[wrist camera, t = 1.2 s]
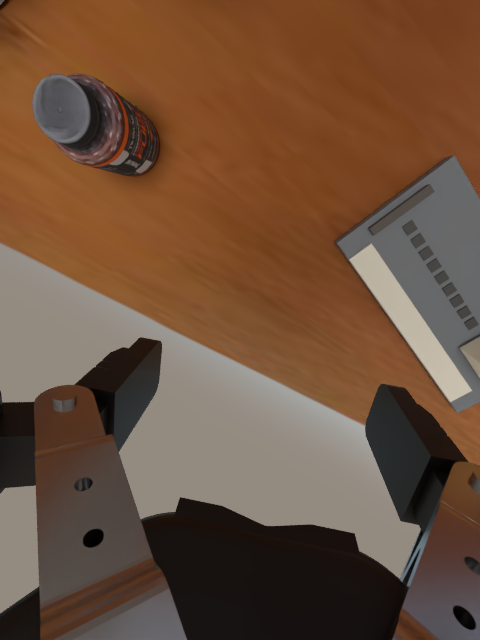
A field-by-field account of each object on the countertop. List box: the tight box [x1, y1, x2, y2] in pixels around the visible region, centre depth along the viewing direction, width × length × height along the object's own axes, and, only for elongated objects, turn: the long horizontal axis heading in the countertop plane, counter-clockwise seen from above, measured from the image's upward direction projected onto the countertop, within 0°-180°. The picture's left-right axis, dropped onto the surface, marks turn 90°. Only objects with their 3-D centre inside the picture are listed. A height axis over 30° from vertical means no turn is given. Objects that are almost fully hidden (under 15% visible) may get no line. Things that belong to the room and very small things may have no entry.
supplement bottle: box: [32, 74, 159, 176], centre depth 26 cm, size 6×6×11 cm
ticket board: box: [334, 155, 480, 413], centre depth 32 cm, size 12×24×2 cm, turn 39°
